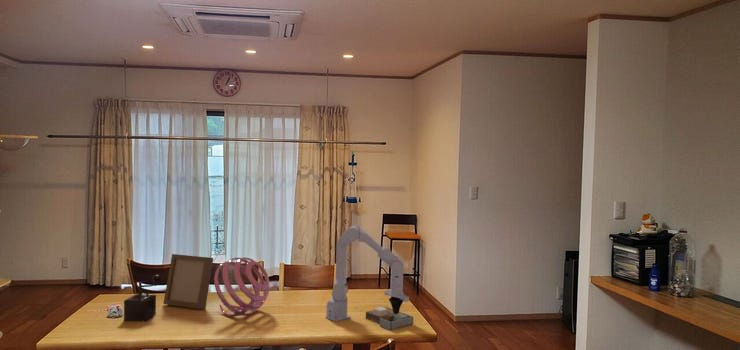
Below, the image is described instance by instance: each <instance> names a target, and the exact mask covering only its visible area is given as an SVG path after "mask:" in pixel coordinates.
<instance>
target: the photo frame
mask: <svg viewBox="0 0 740 350" xmlns="http://www.w3.org/2000/svg"><path fill="white" fill-rule="evenodd" d="M213 263H214V257H207V256H206V257H205V256H198V255H197V256H195V255H188V254H187V255H186V254H185V255H184V254H176V253H171V258H170V264H169V265H170V266H169V270H168V276H167V281H166V288H165V293H164V298H163V299H164V300H163V305H170V306H177V307H183V308H184V307H186V308H192V309H197V310H199V309H200V310H203V309H206V308H207V307H206V306H207V301H208V295H209V289H210V288H209V287H210V282H211V278H212V277H211V276H212V270H213Z"/></svg>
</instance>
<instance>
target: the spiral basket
mask: <svg viewBox="0 0 740 350" xmlns="http://www.w3.org/2000/svg"><path fill="white" fill-rule="evenodd" d="M235 260H236V261H235ZM241 263H244V264H245V266H243V265H242V264H241ZM229 266H233V274H234V279H235V283H236V284H237V286H238V288H239V290H240V291H241V292H243V294H244V295H245V296H246V297H247V298H249V299H250V301H249V302H248V303H247V302H245V301H243V299H241V298H240V297H239V296H238V294H237V293H236V292H235V290H234V289H233V287H232V285H231V284H232V283H231V282H230V279H229V273H228V272H229ZM256 266H257V267H258V268H259V269H260V270H259V269H258V268H257V267H256ZM222 267H223V269H222V280H223V284H224V286H225V289H226V291H227V293H228V295H229V296H230V298H231V299H232V300H233V301H234V302H235V303H236V304H237V305H233V304H231V303H230V302H229V301H228V300H227V299H226V297H225V295H224V294H223V292H222V290H221V287H220V282H219V272H220V270H221V268H222ZM240 271H241V272H242V274H244V275H245V277H247V279H248V280H249V282H250V284H251V285H252V288H253V291H254V293H253V292H252V291H251V290H250V289H249V288H248V287H247V286H246V284H245V283H244V281H243V279H242V275H241V272H240ZM252 271H253V272H254V273H255V275H256V276H257V277H258V280H259V282H258V281H257V280H256V278H255V276H254V275H253V272H252ZM260 271H261V272H262V274H263V276H264V277H263V276H262V274H261V272H260ZM213 282H214V288H215V291H216V294H217V296H218V298H219V300H220V302H221V303H222V304H223V305H224V307H225V308H227V310H228V311H230V312H232V314H231V313H228V312H226V311H225V310H224V308H223V306H222V305H221V304H219V308H220V311H221V312H222V314H224V315H226V317H241V316H242V317H246V316H250V315H252V314H254V313H255V312H257V310H259V309H261V308H262V306H263V305H264V304H265V302H266V300H267V298H268V296H269V293H270V288H271V287H270V286H271V285H270V278H269V275H268V272H267V270H266V268H264V266H263V265H261V263H259V262H257V261H256V260H254V259H253V258H250V257H232V258H229V259H228V260H227V261H224V262H222V263H221V264H220V265H218V267H217V268H216V270H215V271H214V276H213ZM261 291H262V293H263V295H261V294H260V293H261ZM249 311H250V312H249Z"/></svg>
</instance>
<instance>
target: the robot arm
mask: <svg viewBox="0 0 740 350" xmlns="http://www.w3.org/2000/svg"><path fill="white" fill-rule="evenodd" d="M356 241H357V242H358V243H359V242H360V243H365V244H366V245H368V246H369V247H370V248H371V249H373V250H374V251H375V252H376V253H377V258H379V259H380V260H381V261H382V262H383V263H385V264H386V265H387V266H389V267H390V270H391V273H390V290H384V296H389V297H390V298H388V300H389V303H390V304H391V305H390V306H391V309H393V313H394V314H398V313H399V312H400V310H401V309H400V308H401V306H402V305H403V302H404V303H406V302H410V296H407V295H406V294H405V292H403V291H404V290H403V289H404V260H403V259H402V258H401V257H399V256H398V255H395V254H394V253H393V252H392V251H391V248H389V247H387V246H384V247H382V245H380V244H379V243H378V242H377V241H376V240H375V239H374V238H373V237H372V236H371V235H370V234H369V233H367V232H366V230H364V229H362V228H361V227H360V226H359V225H351V226H350V227H348V228H347V229H345V231H343V233H342V235H341V236H340V237H339V238H338V240H337V241H336V258H335V260H336V261H335V280H334V284H333V289H332V291H331V297H332V298H331V300H328V301H327V303H326V314H325V318H326V317H327V318H326V319H328V318H329V320H330V319H331V321H332V320H333V321H332V322H335V321H336V322H339V320H340V321H344V320H348V319H351V316H350V315H348V296H347V294H348V291H349V287H348V283H347V260H348V259H347V256H348V246H349V244H351V243H353V242H356ZM347 318H348V319H347ZM343 319H344V320H343Z"/></svg>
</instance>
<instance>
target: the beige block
mask: <svg viewBox="0 0 740 350" xmlns="http://www.w3.org/2000/svg"><path fill="white" fill-rule="evenodd" d="M373 310H374V314H375V315H377V316H384V315H388V309H386V308H384V307H383V306H379V307H374V308H373Z"/></svg>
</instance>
